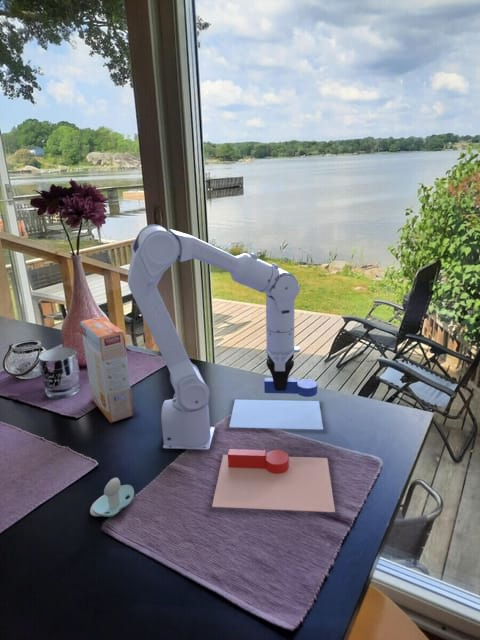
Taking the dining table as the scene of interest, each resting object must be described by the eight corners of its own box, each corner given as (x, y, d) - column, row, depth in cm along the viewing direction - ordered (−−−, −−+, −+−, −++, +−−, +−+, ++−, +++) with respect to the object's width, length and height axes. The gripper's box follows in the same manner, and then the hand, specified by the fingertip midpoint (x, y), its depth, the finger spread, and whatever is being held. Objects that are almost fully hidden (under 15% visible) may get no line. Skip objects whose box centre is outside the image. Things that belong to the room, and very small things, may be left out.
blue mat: (229, 429, 95) (228, 427, 95) (235, 401, 106) (234, 399, 106) (323, 432, 93) (323, 429, 93) (319, 403, 104) (319, 400, 104)
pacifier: (82, 514, 73) (105, 528, 69) (75, 482, 71) (99, 496, 68) (116, 488, 78) (140, 500, 75) (111, 458, 77) (135, 469, 73)
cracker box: (135, 416, 101) (125, 330, 94) (110, 424, 98) (97, 337, 91) (115, 392, 112) (104, 314, 106) (91, 399, 109) (78, 320, 102)
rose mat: (212, 509, 73) (211, 506, 73) (223, 456, 86) (223, 454, 86) (335, 515, 71) (335, 512, 70) (327, 460, 84) (327, 457, 84)
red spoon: (227, 472, 81) (226, 459, 80) (230, 457, 85) (229, 444, 84) (288, 474, 79) (289, 461, 79) (288, 459, 84) (288, 446, 83)
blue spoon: (264, 396, 93) (263, 384, 92) (265, 386, 97) (265, 374, 96) (317, 397, 92) (318, 385, 91) (316, 387, 96) (316, 375, 95)
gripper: (301, 341, 83) (300, 404, 87) (299, 316, 96) (298, 372, 101) (263, 341, 83) (264, 404, 88) (266, 316, 97) (267, 372, 101)
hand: (280, 387), depth 94 cm, fingers closed on blue spoon, 2 cm apart
